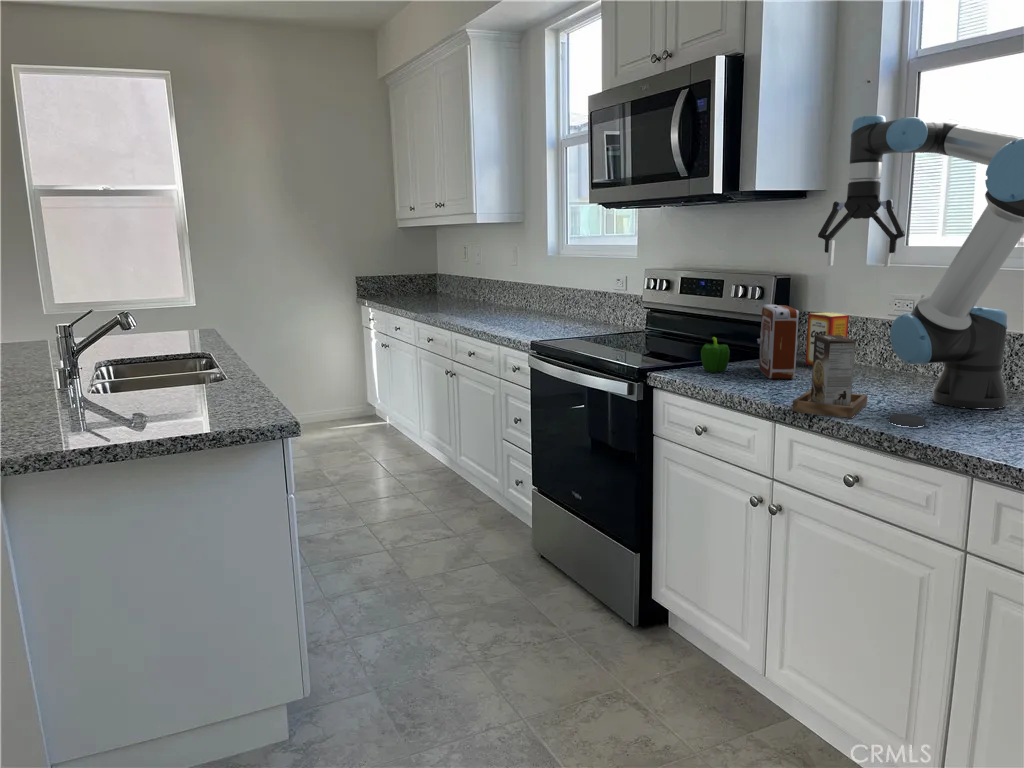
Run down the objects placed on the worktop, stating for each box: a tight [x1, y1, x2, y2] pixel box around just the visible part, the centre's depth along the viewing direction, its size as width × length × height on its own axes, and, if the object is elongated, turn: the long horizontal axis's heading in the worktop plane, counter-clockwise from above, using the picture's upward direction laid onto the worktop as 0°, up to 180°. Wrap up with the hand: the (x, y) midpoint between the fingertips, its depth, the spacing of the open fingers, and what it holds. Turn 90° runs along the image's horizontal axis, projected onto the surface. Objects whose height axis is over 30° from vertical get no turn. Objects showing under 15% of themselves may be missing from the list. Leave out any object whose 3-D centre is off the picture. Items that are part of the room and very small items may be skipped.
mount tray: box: [791, 388, 868, 419], centre depth 178 cm, size 13×15×2 cm
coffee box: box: [810, 335, 857, 406], centre depth 176 cm, size 9×6×16 cm
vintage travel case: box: [756, 304, 800, 380], centre depth 217 cm, size 9×19×20 cm, turn 174°
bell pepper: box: [700, 336, 731, 373], centre depth 223 cm, size 8×8×10 cm
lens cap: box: [888, 413, 927, 427], centre depth 163 cm, size 7×7×2 cm
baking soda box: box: [804, 311, 850, 367], centre depth 228 cm, size 10×6×16 cm
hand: (858, 266), depth 194 cm, fingers open, 13 cm apart
